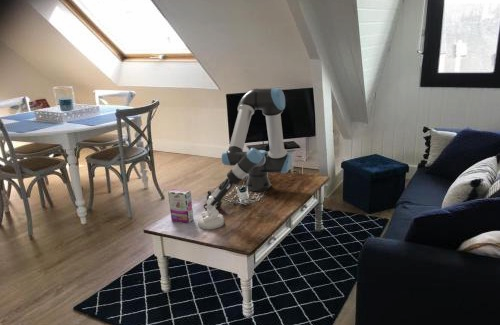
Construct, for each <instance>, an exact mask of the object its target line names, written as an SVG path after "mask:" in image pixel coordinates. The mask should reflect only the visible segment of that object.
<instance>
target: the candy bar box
mask: <svg viewBox="0 0 500 325" xmlns="http://www.w3.org/2000/svg"><path fill="white" fill-rule="evenodd" d="M191 193H192V192H191V191H190V190H183V189H171V190H170V191H168V193H167V194H168V202H169V210H170V219H171V222H177V223H178V222H179V223H185V224H190V223H191V222H192V221H194V214H193V213H194V212H193V211H194V210H193V203H192V194H191Z"/></svg>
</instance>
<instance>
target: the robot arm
mask: <svg viewBox="0 0 500 325" xmlns="http://www.w3.org/2000/svg"><path fill="white" fill-rule="evenodd" d="M285 108H286V96H285V94H284V91H283V90H282V89H280V88H275V87H273V88H271V87H270V88H253V89H251V90H248V91H247V92H246V93H245V94H244V95H243V96H242V97H241V99H240V100H239V102H238V105H237V117H236V119H235V123H234V128H233V132H232V135H231V137H230V142H229V146H228V150H224V151H223V152H222V154H221V162H222V164H223V165H224V166H230V167H231V166H233V167H232V168H231V169H230V170H229V171H228V172H227V174H226V177H227V178H226V179H224V180H223V181H222V182H221V183H220V184H219V186H218V187H217V188H216V189H215V190H214V191H213V192H212V193H211V194H212V195H211V196H213V198H214V199H213V200H212V201H211V202H210V203H209V204H208V205H207V206H205V208H207V209H208V210H209V211H210V210H211V209H212V208H213V207H214V206H215V205H216V204H217V203H219V202H220V201H221V202H222V199H223V198H224V197H225V196H226V195H227V193H229V191H230V189H232V188H233V184H234V185H239V184H240V183H241V182H242V181H243V180H244V179H245V178H246V177H247V181H246V184H245V185H246V186H245V187H247V186H248V189H249V191H252V192H263V191H267V190H268V189H269V190H270V188H271V182H270V179H269V175H268V173H271V174H272V173H275V174H276V173H277V174H287V173H288V172H289V170H290V168H291V167H290V166H291V160H292V157H291V156H292V155H291V154H290V153H288V150H287V149H285V143H284V136H283V135H284V134H283V125H282V116H281V114H282V113H283V112H284V110H285ZM256 110H261V113H262V115H263V116H265V123H266V124H265V125H266V130H267V138H268V145H269V147H268V148H269V150H268V152H267V151H266V150H264V149H257V148H255V147H251V148H250V149H249V150H247V151H243V150H244V147H245V144H246V143H245V142H246V139H247V134H248V133H249V132H248V131H249V126H250V124H251V123H250V122H251V119H252V116H253V115H254V114H255V111H256ZM248 189H247V190H248ZM217 198H218V199H217ZM215 207H216V206H215Z"/></svg>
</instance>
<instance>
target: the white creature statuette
mask: <svg viewBox="0 0 500 325" xmlns="http://www.w3.org/2000/svg"><path fill="white" fill-rule="evenodd" d="M213 199H214V198H213V196H209V199H208V200H207V199H206V202H207V203H206V202H205V204H207V205H208V204H209V203H210V202H211V201H212V200H213ZM215 207H216V206H214V207H213V208H212V209H211V210H210V211H209V210H208V209H207V211H206V210H205V211H203V212H201V215H202V216H203V217H205V218H204V219H203V221H204V222H208V221H211V220H213V219H216V218H217V217H218V215H219V214H220V211H219V212H218V210H217V209H216V208H215Z"/></svg>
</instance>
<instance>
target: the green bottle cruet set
mask: <svg viewBox="0 0 500 325" xmlns="http://www.w3.org/2000/svg"><path fill="white" fill-rule="evenodd" d="M212 194H213V193H212V191H210V190H208V191H207V195H206V202H205V204H204V205H203V209H204V210H205V212H206V211H207V208H206V206H207V204H206V203H207V200H208V199H209V196H211V195H212ZM217 199H218V198H217ZM222 203H223V202H222V200H221V201H220V202H219V203H217V204H216V205H215V208H216V209H217V210H218V212H219V213H220V210H221V209H222Z"/></svg>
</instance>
